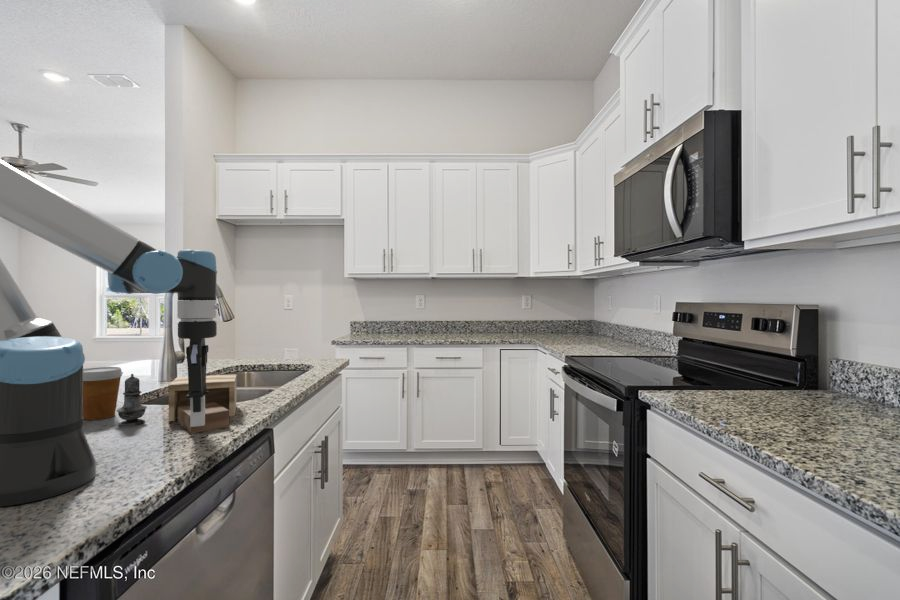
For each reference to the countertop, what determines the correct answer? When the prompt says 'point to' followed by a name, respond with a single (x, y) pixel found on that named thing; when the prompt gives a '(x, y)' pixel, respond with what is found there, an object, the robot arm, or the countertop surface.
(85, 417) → the disposable coffee cup
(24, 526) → the countertop surface
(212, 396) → the oak bridge
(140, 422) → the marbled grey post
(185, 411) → the dark brown block
